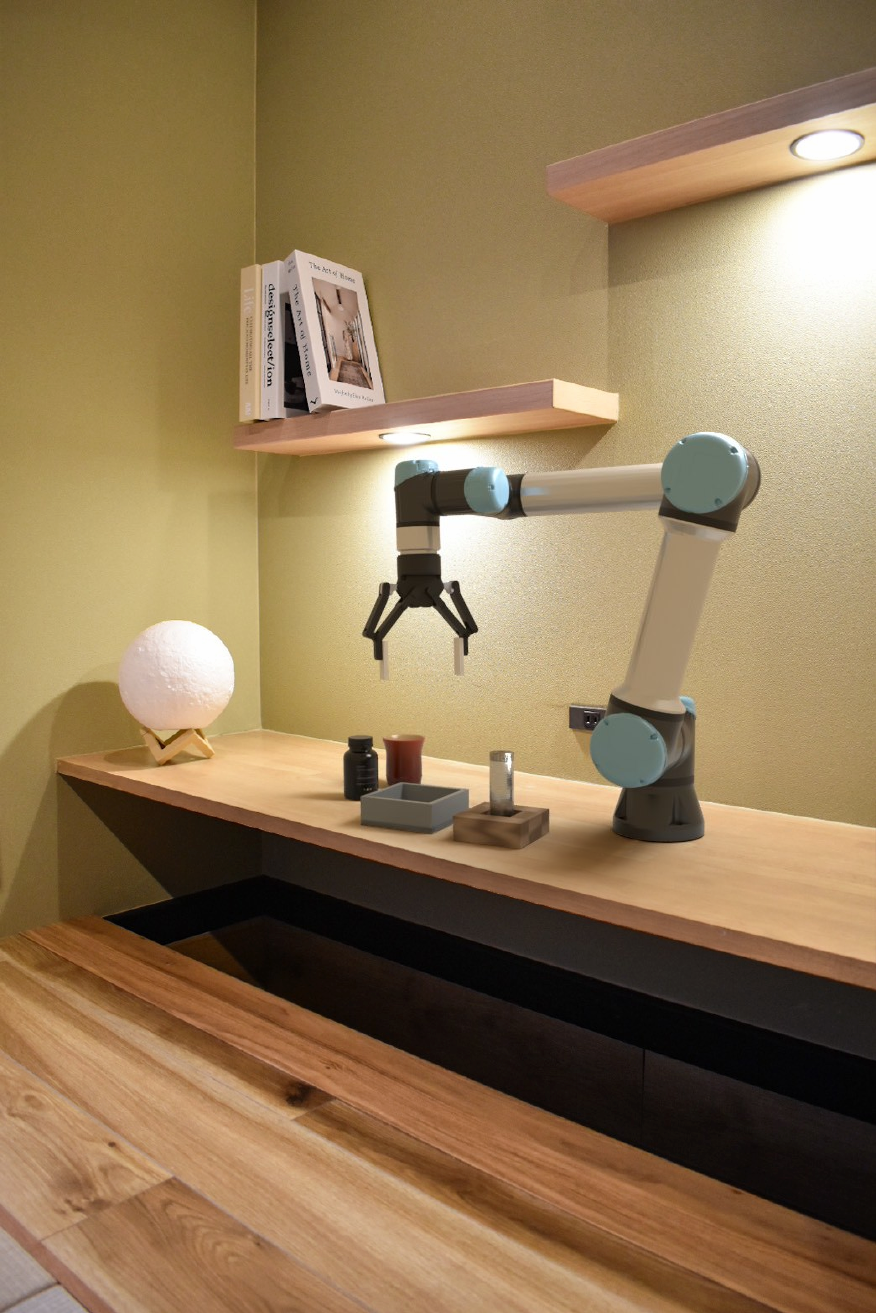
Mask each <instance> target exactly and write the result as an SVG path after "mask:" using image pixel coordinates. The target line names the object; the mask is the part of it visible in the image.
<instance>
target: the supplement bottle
mask: <svg viewBox="0 0 876 1313" xmlns="http://www.w3.org/2000/svg"><path fill="white" fill-rule="evenodd" d="M347 747H348V748H349V749H348V750H346V751H345V752H344V753H343V757H342V761H343V766H342V767H343V769H342V770H343V772H342V773H343V797H344V798H345V799H346V800H349V801H352V802H353V801H354V802H355V801H356V802H357V801H358V802H361V796H363V795H366V794H369V793H372V792H375V791H377V790H380V789H379V788H380V787H379V754H378V752H377V751H376V750H375V749H373V747H374V737H373V736H371V735H366V734H365V735H364V734H361V735H360V734H358V735H357V734H356V735H351V736H348V738H347Z"/></svg>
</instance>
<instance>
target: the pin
mask: <svg viewBox="0 0 876 1313" xmlns="http://www.w3.org/2000/svg"><path fill="white" fill-rule="evenodd" d="M489 802H490V815H493V816H502V817H512V816H514V805H515V752H514V751H513V750H512V751H511V750H500V749H499V750H492V751H489Z"/></svg>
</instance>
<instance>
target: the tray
mask: <svg viewBox="0 0 876 1313" xmlns="http://www.w3.org/2000/svg"><path fill="white" fill-rule="evenodd" d="M469 808H470V789H469V788H463V787H462V788H460V787H453V786H452V787H450V786H443V785H441V786H440V785H432V784H431V785H430V784H422V783H421V784H414V783H404V782H400V783H397V784H395V785H392V786H386V787H384V788H380V789H378V790H377V791H375V792H372V793H369V794H366V795H363V796H361V801H360V826H366V827H375V828H383V829H391V830H398V831H405V832H413V833H414V832H415V833H423V834H428V835H431V834H435V833H437V832H440V831H441V830H444V829H446V828H448V827H450V826H453V816H454V815H456V814H458V813H461V812H463V811H465V810H467V809H469Z"/></svg>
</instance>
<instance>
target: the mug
mask: <svg viewBox="0 0 876 1313" xmlns="http://www.w3.org/2000/svg"><path fill="white" fill-rule="evenodd" d="M381 738H382V742H383V746H384V749H385V757H386V759H385V779H386V780H385V781H386V784H387V787H389V786H392V785H395V784H397V783H400V782H404V783H414V784H422V778H423V763H422V762H423V761H422V758H423V757H422V754H423V752H422V751H423V748H424V745H425V744H424V743H425V739H426V737H425V736H424V735H420V734H411V733H399V734H398V733H397V734H388V735H384V736H382V737H381Z"/></svg>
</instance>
